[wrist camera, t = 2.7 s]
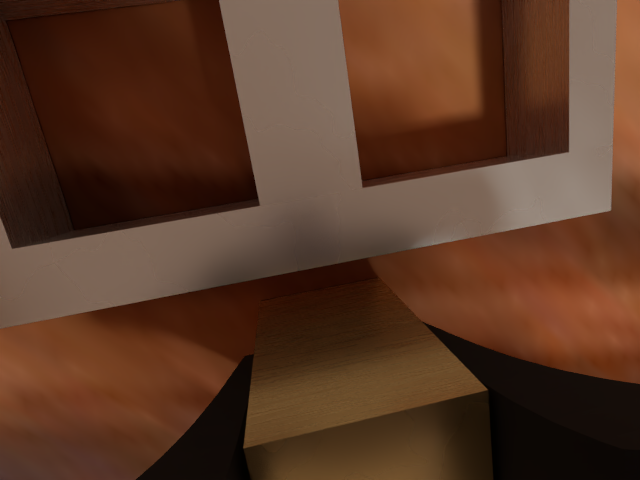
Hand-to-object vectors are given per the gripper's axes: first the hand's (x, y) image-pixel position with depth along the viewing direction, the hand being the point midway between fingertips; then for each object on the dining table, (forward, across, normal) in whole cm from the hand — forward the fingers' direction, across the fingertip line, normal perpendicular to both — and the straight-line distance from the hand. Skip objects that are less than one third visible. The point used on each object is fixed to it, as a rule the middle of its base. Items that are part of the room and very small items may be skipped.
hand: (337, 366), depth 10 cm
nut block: (+1, 0, 0) cm, 1 cm away
